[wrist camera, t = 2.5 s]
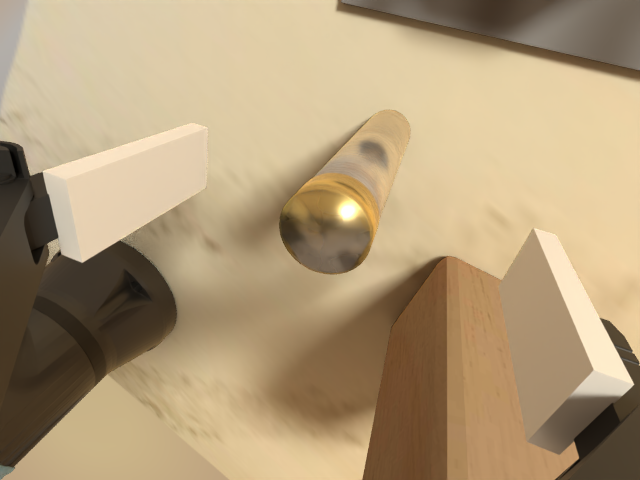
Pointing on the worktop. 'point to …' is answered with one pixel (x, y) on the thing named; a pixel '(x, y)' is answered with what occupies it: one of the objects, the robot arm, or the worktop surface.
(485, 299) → the wooden block
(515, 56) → the worktop surface
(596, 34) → the wooden ring socket base
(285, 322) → the worktop surface
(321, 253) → the brass-banded steel rod
